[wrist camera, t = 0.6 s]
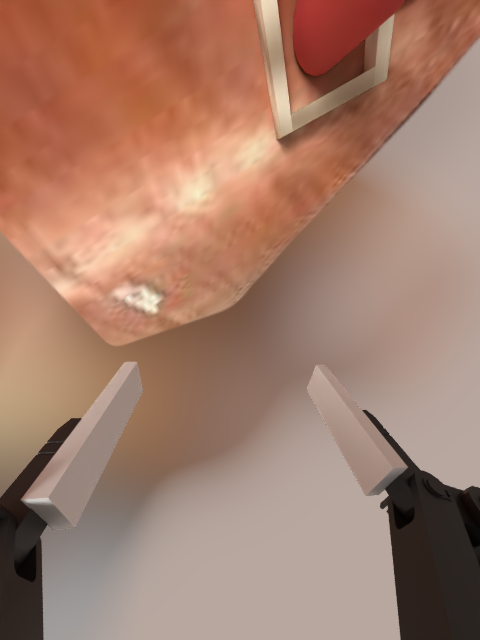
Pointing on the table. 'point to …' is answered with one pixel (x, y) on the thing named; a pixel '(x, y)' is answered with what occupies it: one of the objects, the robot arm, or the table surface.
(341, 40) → the beer can
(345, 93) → the frame
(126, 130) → the table surface
